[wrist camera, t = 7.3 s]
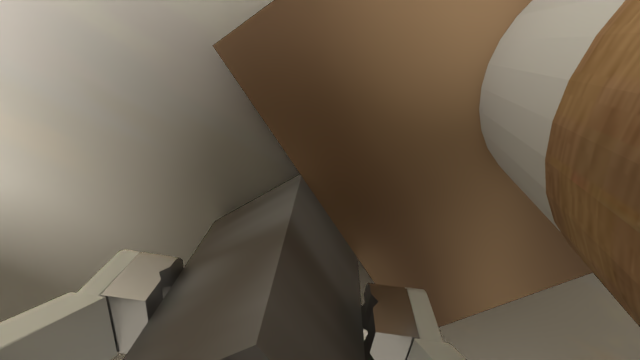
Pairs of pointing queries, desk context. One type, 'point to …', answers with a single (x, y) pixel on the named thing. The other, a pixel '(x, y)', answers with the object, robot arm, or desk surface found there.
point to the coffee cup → (574, 128)
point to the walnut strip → (361, 185)
